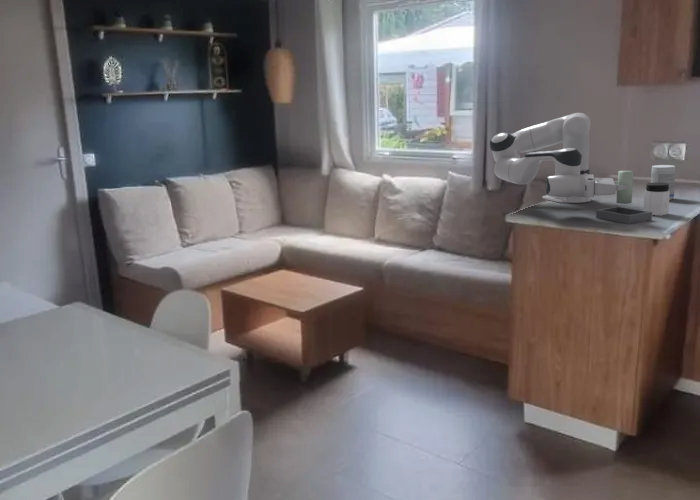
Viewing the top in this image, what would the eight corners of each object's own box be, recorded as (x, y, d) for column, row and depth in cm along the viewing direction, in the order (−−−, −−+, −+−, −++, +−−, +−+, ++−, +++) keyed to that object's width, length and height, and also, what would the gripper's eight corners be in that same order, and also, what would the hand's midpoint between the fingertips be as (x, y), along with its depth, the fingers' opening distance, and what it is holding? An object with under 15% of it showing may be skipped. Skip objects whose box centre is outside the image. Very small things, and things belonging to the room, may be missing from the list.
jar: (658, 216, 253) (660, 186, 250) (639, 214, 260) (641, 184, 257) (672, 213, 258) (674, 183, 255) (652, 211, 265) (654, 181, 262)
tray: (595, 217, 257) (596, 210, 256) (617, 214, 262) (618, 206, 261) (629, 223, 243) (629, 215, 242) (651, 219, 248) (652, 211, 247)
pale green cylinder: (613, 202, 252) (615, 171, 249) (623, 200, 254) (625, 170, 252) (624, 204, 247) (626, 172, 244) (634, 202, 250) (636, 171, 247)
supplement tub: (678, 198, 289) (680, 165, 285) (666, 201, 284) (668, 167, 280) (657, 196, 297) (659, 164, 293) (645, 199, 291) (647, 166, 288)
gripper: (587, 189, 264) (624, 189, 259) (589, 197, 245) (628, 198, 240) (588, 174, 262) (625, 174, 258) (589, 181, 243) (629, 181, 239)
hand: (627, 185), depth 249 cm, fingers closed on pale green cylinder, 5 cm apart
